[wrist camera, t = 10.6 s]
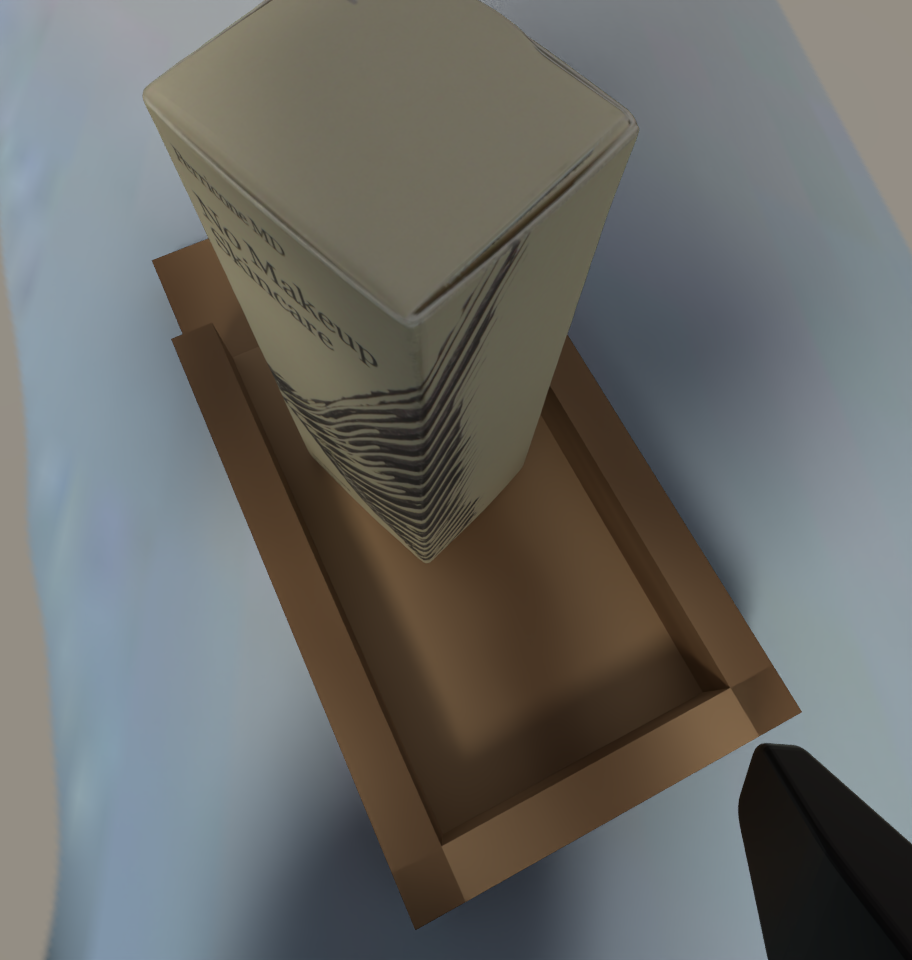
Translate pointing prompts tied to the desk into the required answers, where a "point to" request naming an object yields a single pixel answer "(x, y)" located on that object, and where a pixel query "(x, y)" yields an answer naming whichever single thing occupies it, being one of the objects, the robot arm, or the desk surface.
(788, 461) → the desk surface
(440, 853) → the tray
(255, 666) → the desk surface
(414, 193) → the box
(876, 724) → the desk surface
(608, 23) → the desk surface
